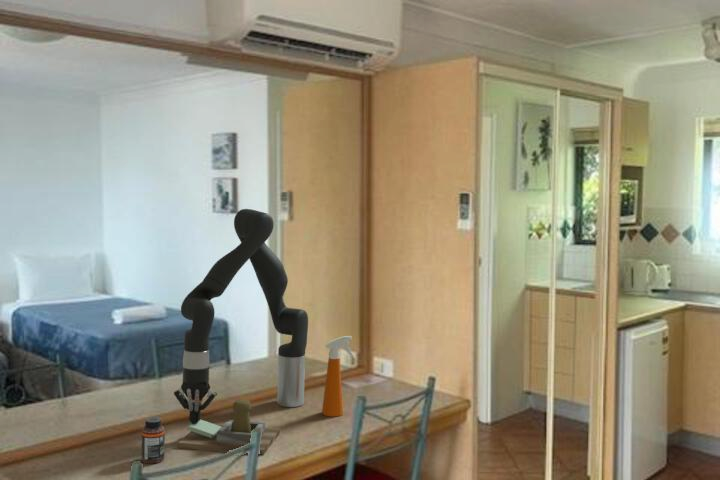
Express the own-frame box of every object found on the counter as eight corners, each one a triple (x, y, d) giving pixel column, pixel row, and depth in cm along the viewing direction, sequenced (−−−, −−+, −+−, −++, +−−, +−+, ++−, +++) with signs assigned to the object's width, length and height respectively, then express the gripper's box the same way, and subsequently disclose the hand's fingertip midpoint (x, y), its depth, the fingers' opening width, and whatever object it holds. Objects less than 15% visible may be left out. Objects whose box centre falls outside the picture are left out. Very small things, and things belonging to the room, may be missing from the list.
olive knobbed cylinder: (247, 441, 203) (248, 404, 202) (227, 439, 204) (228, 402, 203) (254, 435, 209) (255, 398, 208) (235, 432, 210) (236, 396, 209)
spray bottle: (354, 417, 233) (357, 338, 231) (322, 416, 232) (324, 337, 230) (353, 410, 240) (355, 333, 238) (321, 410, 239) (323, 333, 237)
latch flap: (195, 421, 212) (196, 418, 212) (222, 431, 211) (223, 427, 211) (186, 429, 205) (187, 425, 205) (214, 439, 204) (215, 435, 204)
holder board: (201, 427, 218) (201, 412, 218) (279, 433, 215) (280, 418, 215) (178, 447, 201) (178, 432, 200) (263, 455, 197) (263, 439, 197)
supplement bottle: (144, 455, 194) (144, 415, 193) (166, 455, 194) (166, 415, 194) (139, 464, 188) (139, 422, 187) (162, 464, 188) (162, 422, 188)
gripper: (222, 363, 210) (220, 420, 211) (179, 360, 211) (178, 417, 212) (213, 369, 202) (212, 429, 203) (169, 366, 204) (168, 425, 205)
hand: (194, 422), depth 208 cm, fingers closed
